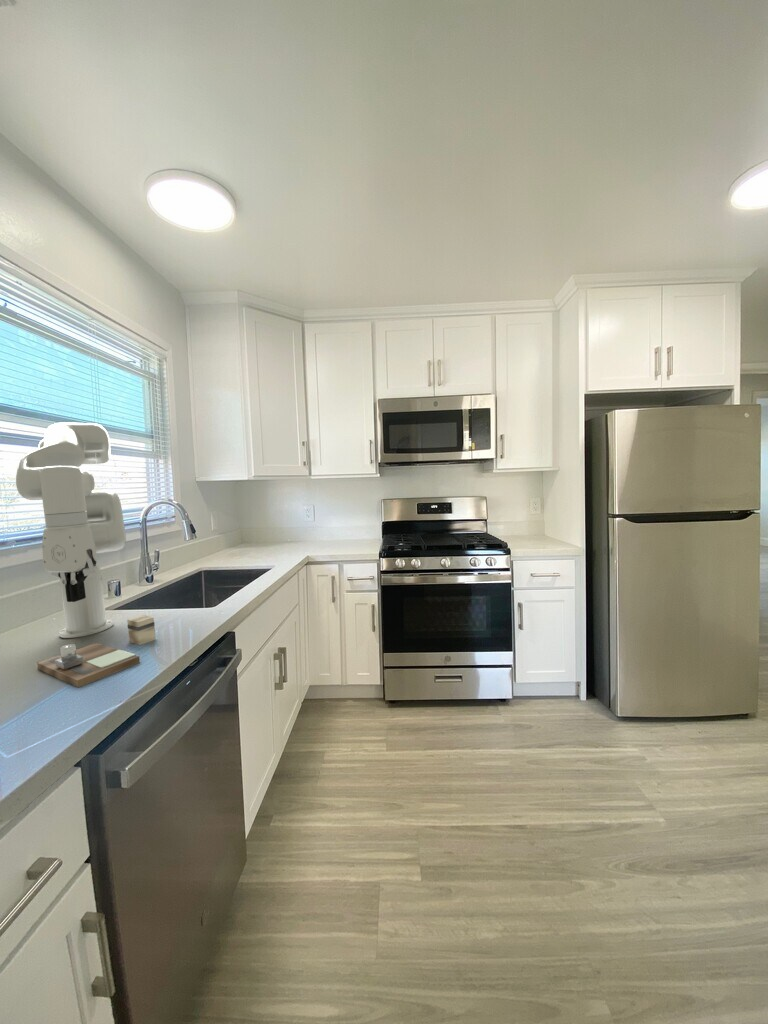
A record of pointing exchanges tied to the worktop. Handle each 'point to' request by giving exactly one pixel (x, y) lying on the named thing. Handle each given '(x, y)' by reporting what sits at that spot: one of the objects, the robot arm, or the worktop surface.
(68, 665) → the silver slider knob
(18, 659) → the worktop surface
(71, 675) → the board
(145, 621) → the beige block
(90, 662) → the pad
